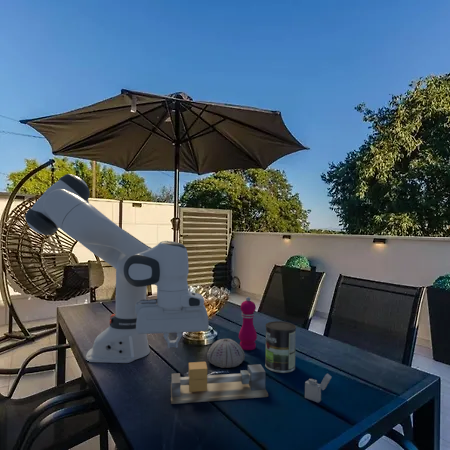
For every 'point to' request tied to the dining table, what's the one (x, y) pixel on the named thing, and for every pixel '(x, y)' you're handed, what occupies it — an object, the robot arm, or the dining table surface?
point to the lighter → (315, 388)
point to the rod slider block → (222, 386)
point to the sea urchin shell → (225, 353)
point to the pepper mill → (248, 326)
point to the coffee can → (280, 346)
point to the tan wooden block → (197, 376)
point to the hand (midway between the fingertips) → (172, 347)
